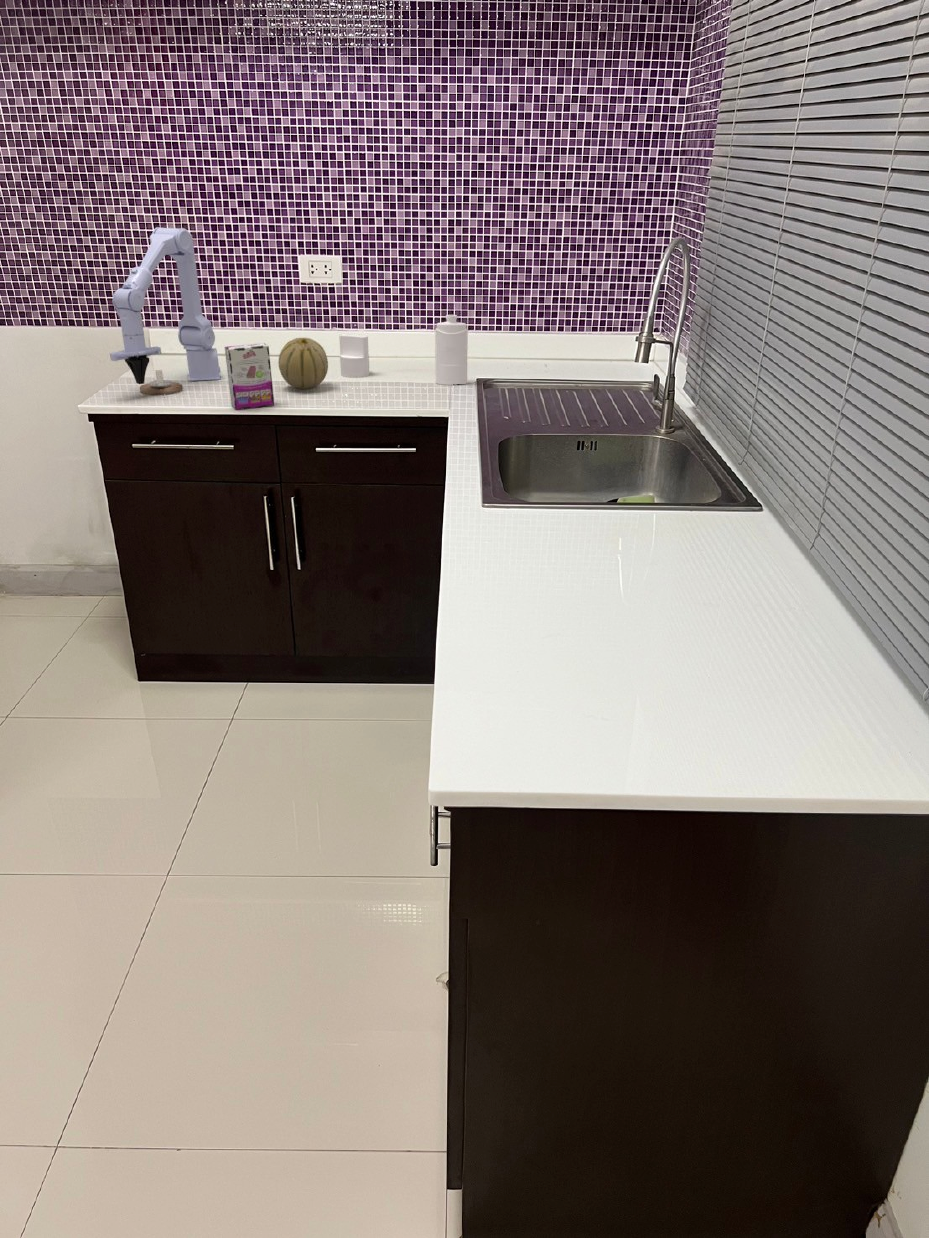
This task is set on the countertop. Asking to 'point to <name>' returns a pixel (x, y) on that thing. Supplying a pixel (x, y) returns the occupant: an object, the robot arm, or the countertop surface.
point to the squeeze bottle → (451, 352)
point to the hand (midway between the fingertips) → (140, 383)
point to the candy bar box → (249, 376)
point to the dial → (160, 381)
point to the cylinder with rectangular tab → (354, 356)
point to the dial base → (161, 389)
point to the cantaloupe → (303, 363)
